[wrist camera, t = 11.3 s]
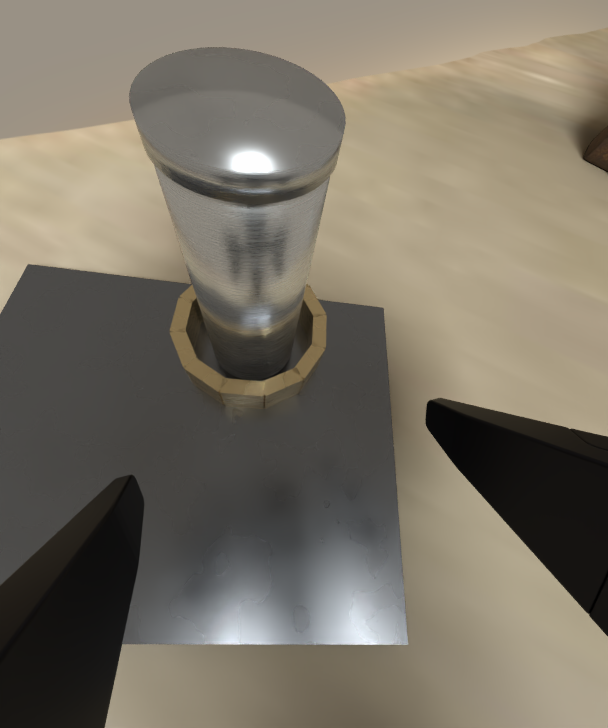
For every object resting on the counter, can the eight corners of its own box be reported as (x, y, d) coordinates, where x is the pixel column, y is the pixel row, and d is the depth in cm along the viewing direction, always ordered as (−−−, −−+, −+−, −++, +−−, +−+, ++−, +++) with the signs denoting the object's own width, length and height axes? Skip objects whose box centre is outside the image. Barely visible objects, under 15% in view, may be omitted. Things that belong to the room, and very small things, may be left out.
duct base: (400, 637, 15) (436, 673, 12) (-157, 634, 12) (-292, 679, 9) (379, 310, 23) (397, 282, 20) (38, 269, 20) (-1, 229, 17)
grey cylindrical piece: (275, 394, 18) (304, 202, 6) (196, 362, 18) (78, 114, 6) (305, 327, 20) (368, 91, 8) (234, 299, 20) (199, 28, 9)
